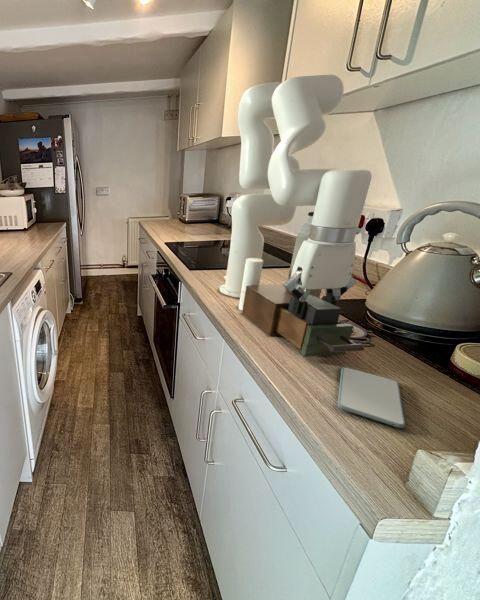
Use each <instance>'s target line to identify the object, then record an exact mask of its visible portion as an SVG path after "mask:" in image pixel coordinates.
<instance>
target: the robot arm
mask: <svg viewBox="0 0 480 600" xmlns="http://www.w3.org/2000/svg"><path fill="white" fill-rule="evenodd" d="M344 92H345V88H344V83H343V81H342V79H341V78H340V77H339V76H338V75H336V74H315V75H301V76H294V77H291V78H288V79H286V80H284V81H278V82H265V83H259V84H256V85H253V86H251V87H249V88H248V89H246V90H245V92H244V93H243V94H242V96H241V98H240V101H239V105H238V108H237V125H238V130H239V135H240V142H241V143H240V146H241V147H240V158H239V171H238V180H239V181H238V182H239V186H240V187H241V188H242V189H243V190H270V193H251V194H245V195H244V194H243V195H241V196H239V197H238V198H236V199H235V200H234V201H233V203H232V206H231V235H230V244H229V253H228V259H227V267H226V275H224V277H223V279H224V280H225V282H224V283H223V284H222V285H220V286H219V292H220V293H221V294H224V295H225V296H228V297H231V298H237V299H240V296H241V289H242V283H243V276H244V270H245V263H246V259H247V258H258V259H262V258H263V253H264V245H265V238H264V235H263V234H262V232H261V231H260V229H259V227H268V226H269V227H270V226H284V225H287V224H289V223H290V222H292V220H294V217H295V215H296V211H297V207H307V206H309V207H311V206H312V207H313V206H314V209H313V212H314V215H313V219H312V224H311V228H310V233H309V237H308V240H304V241H303V243H302V245H301V247H300V249H299V252H298V254H297V257H296V260H295V263H294V266H293V269H292V273H291V277H290V278H289V279H288V278H287V280H286V281H285V282H283V283H282V284H283V286H284V287H285V288H286V289H287V290H288V291H289V293H290V294H291V295H292V297H293V298H295V299H294V304H293V308H292V314H293V315H295V316H297V317H298V318H300V319H303V318H304V316H305V312H306V308H307V304H308V302H306V301H305V300H306V299H307V297H308V295H309V294H310V292H311V290H312V289H322V290H324V292H325V295H322V297H321V299H323V300H325V301H327V302H329V303H331V304H333V305H335V306H336V303H337V301H340V300H341V298H342V296H343V295H344V294H345V293H347V292H348V290H349V289H351V288H352V287H354V286H355V285H356V279H355V278H354V276H352V274H353V269H354V265H355V259H356V250H357V249H356V248H357V243H356V241H355V239H356V236H357V235H359V234H360V233H361V229H360V227H359V225H360V221H361V219H362V218H361V217H362V214H363V210H364V207H365V204H366V199H367V195H368V192H369V189H370V185H371V181H372V177H373V176H372V172H371V171H370V170H368V169H365V168H364V169H363V168H347V169H345V168H336V167H335V168H333V167H331V168H304V169H303V168H302V169H301V164H300V162H299V159H298V157H296V156H295V155H294V154H297V153H299V152H301V151H304V150H306V149H307V148H309V147H311V146H312V145H314V144H315V143H317V142H318V141H319V140H320V139H321V138H322V136H323V135H324V134H325V131H326V127H327V126H326V125H327V124H326V121H325V119H324V117H325V116H328V115H330V114H331V113H333V112H334V111H335V110H337V108H338V107H339V106H340V105H341V102H342V100H343V97H344V94H345V93H344ZM273 119H274V120H275V123H276V127H277V131H278V134H279V135H278V136H279V138H280V142H279V143H278V144H277V146H276V147H275V149H274V145H275V137H274V136H275V135H274V133H273V131H272V130H271V128H270V126H269V125H268V124H267V123H266V122H265V120H273ZM295 284H298V286H297V288H295ZM303 289H304V291H303V293H302V294H301V292H302V290H303Z"/></svg>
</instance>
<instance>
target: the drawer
mask: <svg viewBox="0 0 480 600" xmlns="http://www.w3.org/2000/svg"><path fill="white" fill-rule="evenodd" d="M288 307H289V306H281V307H279V308H278V313H277V318H276V323H275V327H274V330H275V331H276V332H278V333H279V334H280V335H279V336H281V337H283V338H284V339H286V340H287V341H289V342H290V343H291V344H293V345H294V346H295V347H297V348H298V349H299V350H301V351H300V354H301V355H302V356H303V357H319V356H320V357H322V356H340V355H341V356H342V355H346V353H348V352H349V353H350V352H363V351H364V350H365V346H364V344H363V343H357V342H354V341H353V340H351V337H352V334H353V330H354V327H355V326H354V324H351V323H341V321H340V320H338V322H337V324H324V325H311V324H310V323H308V322H306V321H305V320H303V319H300V318H298V317H297V316H295V315H293V314H292V312H290V311H288Z"/></svg>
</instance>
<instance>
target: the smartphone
mask: <svg viewBox="0 0 480 600" xmlns="http://www.w3.org/2000/svg"><path fill="white" fill-rule="evenodd" d="M336 406H337V407H338V408H339V409H340V410H342V411H345V412H348V413H351V414H355V415H358V416H360V417H364V418H367V419H371V420H373V421H376V422H380V423H382V424H385V425H388V426H392V427H395V428H397V429H403V428H405V427H406V419H405V415H404V409H403V401H402V396H401V390H400V384H399V381H397V380H395V379H392V378H388V377H385V376H380V375H378V374H377V375H376V374H372V373H369V372H365V371H362V370H359V369H353V368H349V367H345V366H344V367H341V369H340V376H339V387H338V394H337V405H336Z"/></svg>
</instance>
